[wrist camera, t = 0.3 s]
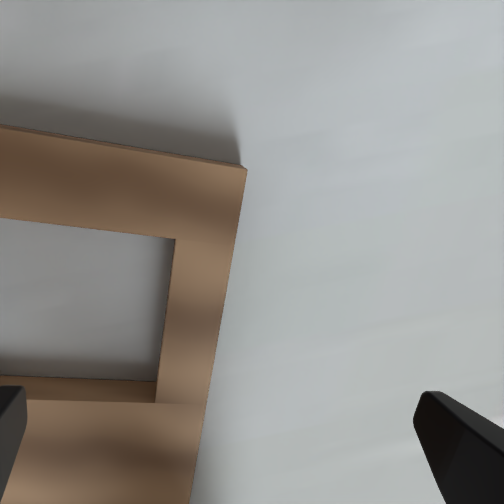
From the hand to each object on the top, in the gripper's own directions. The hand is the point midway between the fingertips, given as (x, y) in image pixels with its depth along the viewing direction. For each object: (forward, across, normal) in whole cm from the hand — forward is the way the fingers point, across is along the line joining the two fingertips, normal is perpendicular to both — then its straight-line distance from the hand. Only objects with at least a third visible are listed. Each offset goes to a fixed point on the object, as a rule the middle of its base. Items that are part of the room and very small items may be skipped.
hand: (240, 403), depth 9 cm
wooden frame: (+14, +7, +8) cm, 17 cm away
